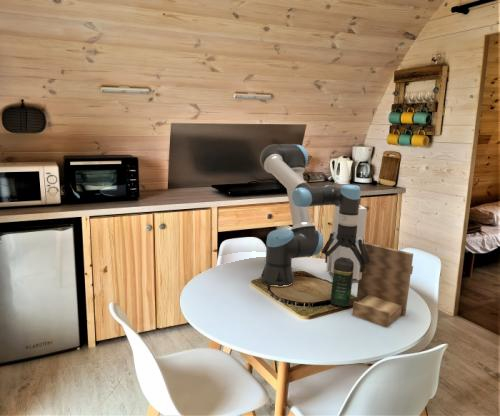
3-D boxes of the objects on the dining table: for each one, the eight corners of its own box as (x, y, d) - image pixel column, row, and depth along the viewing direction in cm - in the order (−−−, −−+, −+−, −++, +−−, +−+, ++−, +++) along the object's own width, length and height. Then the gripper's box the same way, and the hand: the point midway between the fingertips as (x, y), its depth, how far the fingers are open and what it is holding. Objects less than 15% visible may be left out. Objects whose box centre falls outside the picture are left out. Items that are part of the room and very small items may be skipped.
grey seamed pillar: (359, 282, 203) (366, 208, 195) (337, 283, 201) (344, 208, 194) (350, 273, 214) (357, 203, 207) (329, 274, 212) (335, 203, 205)
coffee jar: (348, 308, 175) (353, 264, 171) (328, 305, 177) (332, 261, 173) (351, 299, 184) (355, 257, 180) (332, 296, 186) (335, 254, 182)
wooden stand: (340, 311, 173) (346, 250, 167) (360, 298, 186) (366, 241, 180) (389, 328, 160) (397, 263, 155) (407, 313, 173) (414, 252, 168)
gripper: (315, 220, 178) (312, 269, 183) (373, 231, 163) (368, 285, 167) (324, 217, 184) (321, 265, 188) (381, 228, 169) (376, 280, 173)
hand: (343, 275), depth 178 cm, fingers open, 13 cm apart
